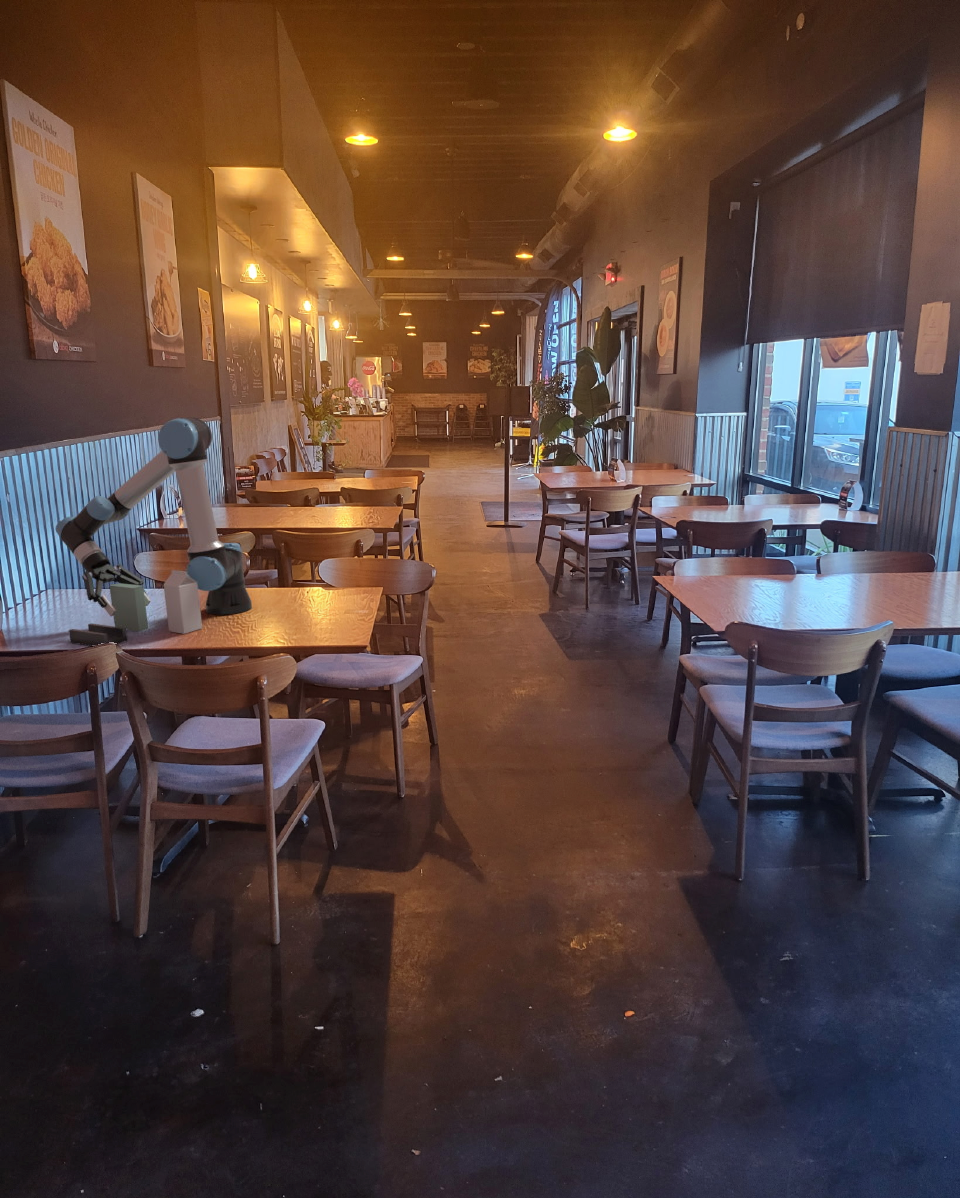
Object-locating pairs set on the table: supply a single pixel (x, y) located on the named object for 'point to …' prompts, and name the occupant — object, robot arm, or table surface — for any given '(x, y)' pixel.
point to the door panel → (129, 606)
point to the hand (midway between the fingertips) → (131, 608)
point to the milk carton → (182, 603)
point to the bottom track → (98, 635)
